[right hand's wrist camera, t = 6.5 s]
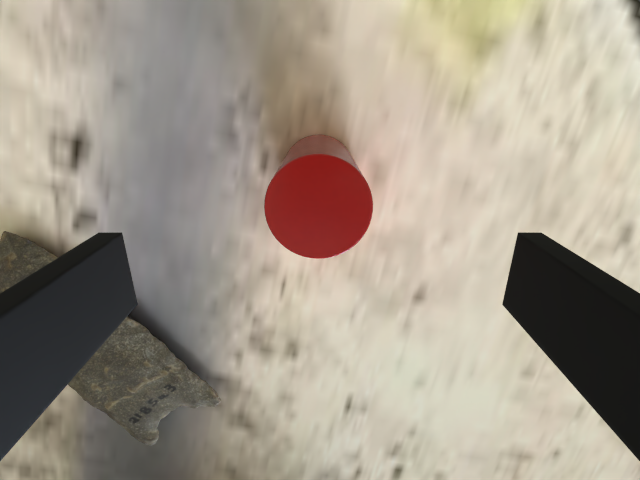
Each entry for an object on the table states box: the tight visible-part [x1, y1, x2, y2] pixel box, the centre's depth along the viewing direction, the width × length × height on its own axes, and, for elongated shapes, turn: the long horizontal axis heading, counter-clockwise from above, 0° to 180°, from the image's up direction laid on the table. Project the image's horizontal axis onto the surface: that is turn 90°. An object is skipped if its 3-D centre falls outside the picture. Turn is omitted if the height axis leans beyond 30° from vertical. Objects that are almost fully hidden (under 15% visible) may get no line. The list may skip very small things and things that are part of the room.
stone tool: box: [0, 231, 221, 445], centre depth 35 cm, size 11×3×25 cm
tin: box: [264, 135, 373, 258], centre depth 25 cm, size 6×6×11 cm
